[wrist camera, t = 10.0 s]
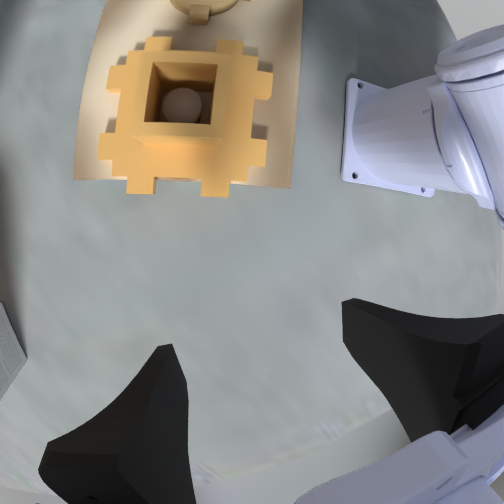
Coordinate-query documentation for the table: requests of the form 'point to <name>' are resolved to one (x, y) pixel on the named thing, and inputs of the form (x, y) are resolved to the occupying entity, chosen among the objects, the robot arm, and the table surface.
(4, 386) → the skincare box
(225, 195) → the gear
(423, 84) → the robot arm
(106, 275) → the table surface
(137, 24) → the carrier plate
